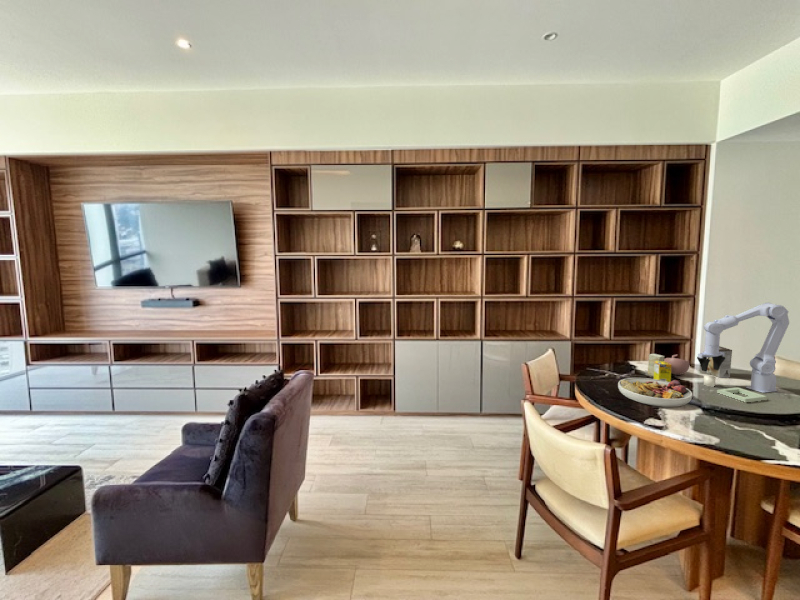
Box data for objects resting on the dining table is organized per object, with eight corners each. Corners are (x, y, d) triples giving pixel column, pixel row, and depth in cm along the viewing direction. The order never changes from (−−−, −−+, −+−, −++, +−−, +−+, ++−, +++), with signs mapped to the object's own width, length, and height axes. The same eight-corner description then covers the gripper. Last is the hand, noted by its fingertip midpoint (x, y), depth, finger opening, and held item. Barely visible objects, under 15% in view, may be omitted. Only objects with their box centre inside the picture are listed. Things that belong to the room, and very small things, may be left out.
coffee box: (705, 372, 214) (707, 346, 212) (716, 372, 214) (718, 345, 212) (719, 378, 205) (721, 350, 203) (730, 377, 205) (732, 349, 203)
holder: (737, 391, 185) (737, 387, 185) (766, 400, 173) (766, 396, 173) (716, 393, 183) (717, 389, 183) (744, 403, 171) (745, 399, 171)
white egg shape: (708, 384, 197) (708, 374, 196) (717, 386, 192) (717, 377, 192) (701, 384, 196) (701, 375, 195) (710, 387, 191) (710, 378, 191)
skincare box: (647, 374, 214) (648, 354, 213) (652, 373, 216) (653, 353, 214) (658, 377, 208) (659, 356, 207) (663, 376, 210) (664, 355, 209)
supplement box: (670, 384, 198) (671, 364, 196) (658, 383, 199) (659, 364, 198) (665, 380, 204) (666, 361, 202) (653, 380, 205) (654, 361, 203)
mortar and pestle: (688, 373, 215) (690, 354, 213) (688, 378, 205) (690, 358, 204) (663, 369, 222) (664, 351, 221) (662, 375, 213) (663, 355, 211)
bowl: (651, 412, 164) (652, 395, 164) (604, 389, 194) (604, 374, 193) (708, 406, 169) (710, 390, 168) (654, 384, 198) (655, 370, 198)
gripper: (715, 342, 197) (713, 367, 198) (693, 344, 194) (691, 369, 195) (729, 345, 190) (727, 370, 191) (706, 347, 187) (704, 373, 189)
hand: (710, 370), depth 193 cm, fingers open, 7 cm apart
